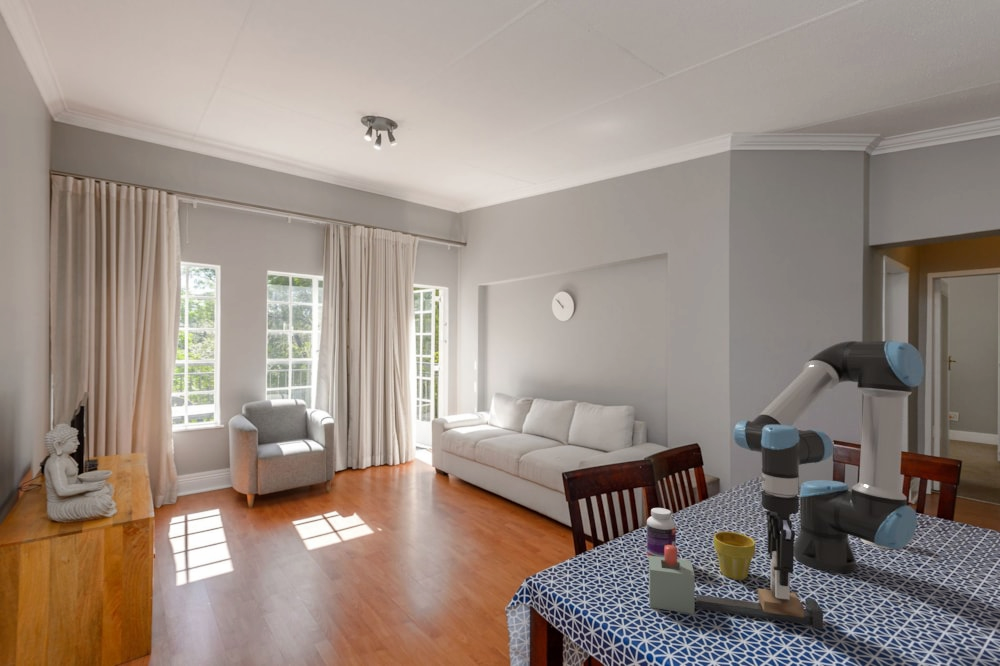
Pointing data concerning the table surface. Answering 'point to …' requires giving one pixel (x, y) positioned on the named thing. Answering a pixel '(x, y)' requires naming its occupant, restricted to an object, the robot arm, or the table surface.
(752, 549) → the plant pot
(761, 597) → the carriage
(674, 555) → the plunger
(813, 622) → the rail
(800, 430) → the robot arm
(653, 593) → the switch box
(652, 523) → the pill bottle
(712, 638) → the table surface
